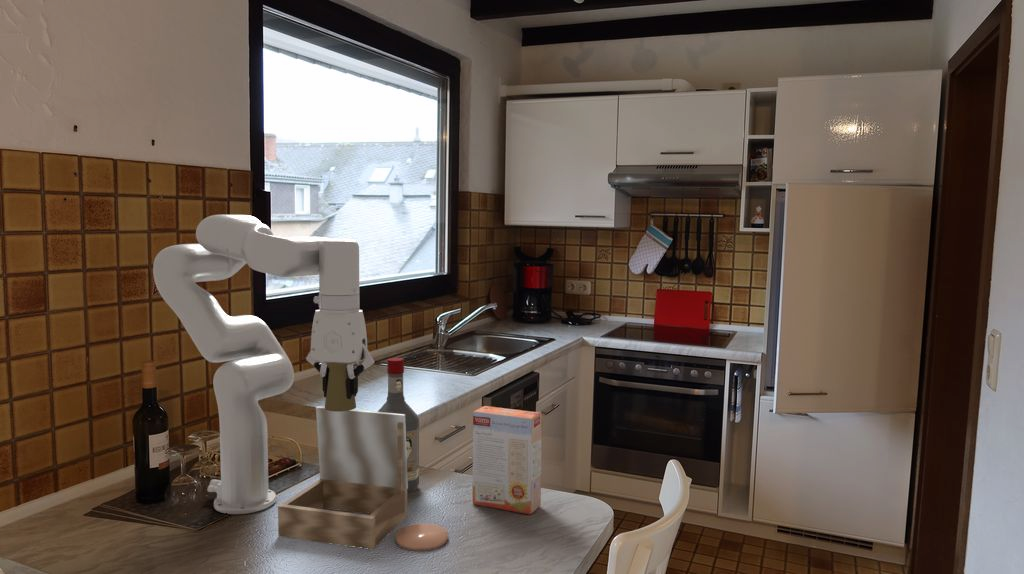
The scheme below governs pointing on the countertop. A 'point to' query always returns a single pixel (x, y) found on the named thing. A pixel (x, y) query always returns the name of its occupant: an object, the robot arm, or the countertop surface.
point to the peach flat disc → (421, 537)
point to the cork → (338, 389)
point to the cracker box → (507, 459)
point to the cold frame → (352, 481)
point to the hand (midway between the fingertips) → (340, 395)
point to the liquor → (399, 406)
